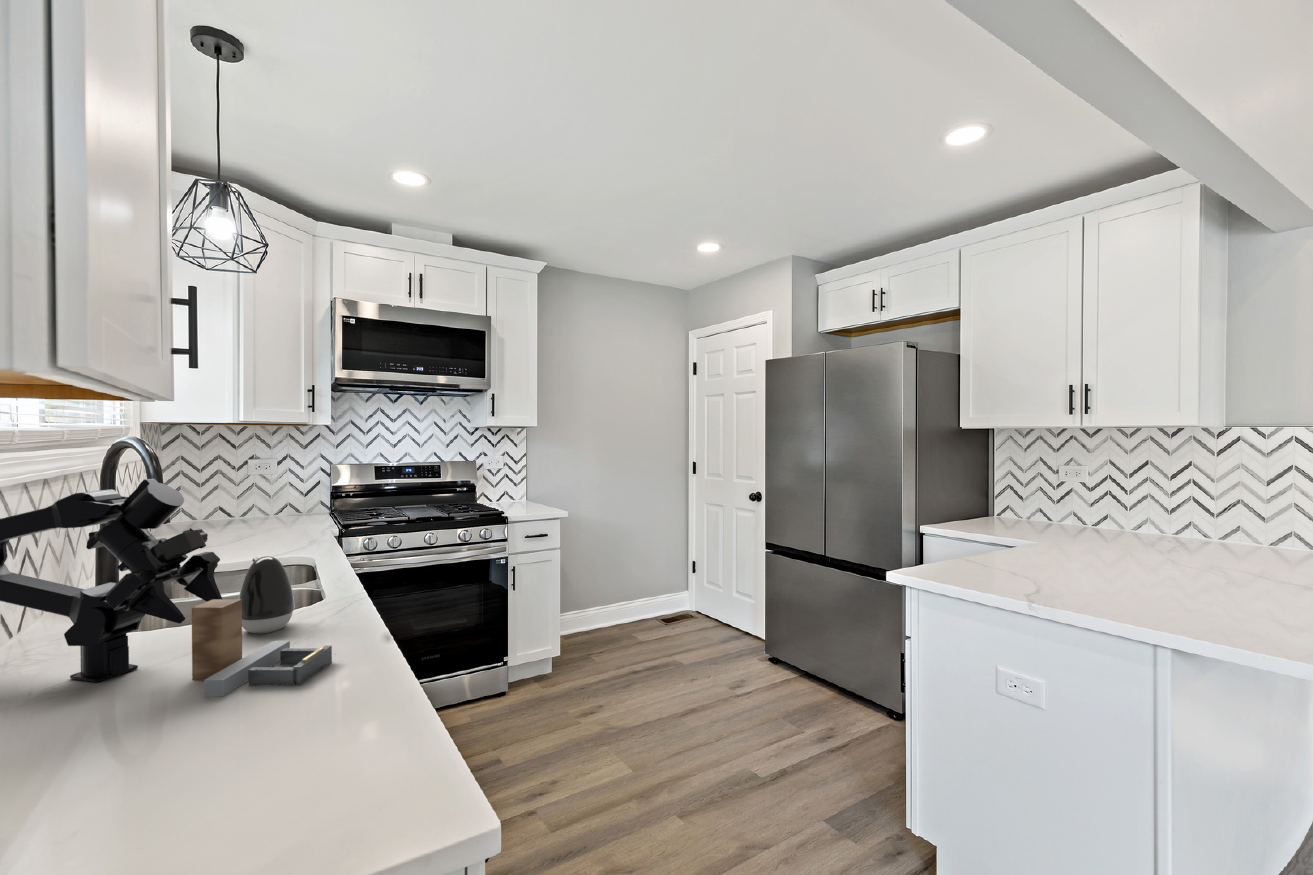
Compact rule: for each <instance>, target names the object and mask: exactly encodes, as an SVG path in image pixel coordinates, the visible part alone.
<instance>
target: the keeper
mask: <svg viewBox="0 0 1313 875" xmlns="http://www.w3.org/2000/svg"><path fill="white" fill-rule="evenodd" d="M332 648H333V646H332V645H324V646H321V647H318V648H317V647H316V648H307V647H306V648H302V647H301V648H296V647H295V648H291V647H290V648H284V649H282V650H281V651H280V661H279V663H280V664H279V665H280V666H281V667H279V666H274V667H273V666H270V667H253V668H251V669H249V670H248V681H247V682H248V685H247V686H302V685H304V683H306V682H307V681H309V680H310V679H311V678H312V677H314V676H315V675H317V674H318V673H319V672H321V671H322V670H324V669H325V668H326V667H327V666H329V665H330V664H332V662H333V649H332ZM287 666H288V667H287ZM289 666H293V667H289Z"/></svg>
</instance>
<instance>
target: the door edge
mask: <svg viewBox="0 0 1313 875" xmlns="http://www.w3.org/2000/svg"><path fill="white" fill-rule="evenodd" d="M284 648H291V641H290V640H272V641H271V642H269V643H267V644H266V645H264V646H262V647H260V648H258V649H256V650H255V651H252V652H251V653H250V654H248V655H245V656H243V657H242V659H240V660H239V661H237V662H235V663H233V664H232V665H230V666H228V667H226V668H225V669H223V670H221V671H219V672H217V673H216V674H214V675H212V676H210V677H209V678H207V679H205V680H203V696H204V697H224V696H226V695H228V694H229V693H231V692H232V691H233V690H235V689H237V688H239V687H240V686H242V685H243V684H245V683H247V682H248V670H249V669H251V668H253V667H273V666H274V665H275V664H277V663H278V662H280V651H281V650H282V649H284Z"/></svg>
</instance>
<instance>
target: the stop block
mask: <svg viewBox="0 0 1313 875" xmlns="http://www.w3.org/2000/svg"><path fill="white" fill-rule="evenodd" d="M242 658H243V627H242V599H238V598H235V599H233V598H232V599H231V598H230V599H229V598H228V599H225V598H224V599H223V598H222V599H213V600H210V601H207V602H206V601H205V602H202V603H200V604H198V605H197V604H196V605H195V606H192V607H191V671H192V672H191V676H192V681H200V680H201V681H202V680H203V681H204V680H205V679H207V678H209V677H210V676H212V675H214V674H216V673H217V672H219V671H221V670H223V669H225V668H226V667H228V666H230V665H232V664H233V663H235V662H237V661H239V660H240V659H242Z"/></svg>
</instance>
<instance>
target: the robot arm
mask: <svg viewBox="0 0 1313 875" xmlns="http://www.w3.org/2000/svg"><path fill="white" fill-rule="evenodd" d="M184 498H185V497H183V494H182V493H181V492H180V491H179V490H178V489H175V488H173V487H171V486H169V485H167V484H165V483H162V482H158V481H157V480H156V478H148V479H143V480H142V481H141V482H140V483H139V484H138V486H137V488H136V489H135V490H134V491H133V492H132V493H131V494H130V495H128V496H125V495H121V494H120V493H119V492H118V491H116V490H115V489H112V488H111V489H102V490H101V489H100V490H93V491H83V492H75V493H71V494H70V495H67V496H65V497H63V498H62V497H61V498H60V499H58V500H56V501H54V502H53V503H52V504H51V505H49V506H47V507H44V508H40V509H36V510H31V511H26V512H24V513H19V514H14V515H10V516H6V517H2V518H0V602H3V603H6V604H11V605H15V606H19V607H24V608H29V609H32V610H33V609H34V610H37V611H41V612H46V613H51V614H55V615H58V616H64V617H67V618H69V620H71V622H72V624H73V625H71V626H70V627H69V628H68V629H67V630H66V631H65V632H64V634H63V635H64V636H63V637H64V639H65V641H66V645H67V646H68V647H80V671H78V672H75V673H73V674H70V675H69V678H70V679H71V680H79V681H83V682H84V681H86V682H91V683H93V682H94V683H100V682H103V681H106V680H108V679H110V678H113V677H117V676H119V675H123V674H125V673H129V672H131V671H135V670H136V669H139V666H138V664H133V663H131V664H130V646H129V636H128V635H127V633H130V632H133V631H137V630H138V629H139V627H140V625H141V622H142V619H143V618H144V617H145V615H148V616H152V617H155V618H159V619H162V620H165V621H169V622H173V623H174V624H175V623H176V624H183V622H185V620H186V617H185V616H184V614H183V612H182V611H181V610H180V609H179V608H178V607H177V605H176V604H174V602H173V601H172V600H171V598H170V597H169V596H168V595H167V594H166V593H165V590H164V589H165V588H164V584H168V583H171V582H175V581H176V582H177V583H178V584H179V585H182V586H184V588H183V590H185V591H186V592H188V593H190V594H191V595H194V596H196V597H198V598H199V599H201V600H203V601H205V602H207V601H210V600H213V599H223V596H222V594H221V592H220V590H219V587H218V585H217V583H216V580H215V570H216V568H217V567H218V566H219V565H218V563H219V562H220V561H221V558H220V557H219V556H218V555H217V554H216V553H215V552H214V551H205V552H204V551H203V552H201V553H197V554H193V555H192V556H191V557H189V556H188V555H187V554H189V553H192V552H194V551H196V550H198V549H204V548H205V547H207V545H206V543H207V541H208V537H209V536H208V532H205V531H204V530H203V529H202V528H200V527H199V526H193V527H189V529H186V530H183V531H182V532H181V533H179V534H176V535H175V536H172V537H170V538H166V537H161V538H158V539H157V538H156V537H155V536H154V535H153V534H152V533H151V532H150V531H149V530H150V529H152V530H155V529H158V528H160V527H162V525H163V524H164V523H166V522H167V520H168V519H169V518H170V517H171V516H173V514H174V513H176V511H177V510H178V509H179V508H180V507H182V505H183V504H184V503H185V499H184ZM96 525H103V526H102V527H101V528H99V530H97V531H91V532H89V533H88V540H87V542H86V545H85V546H86V549H87V550H93V549H97V548H102V547H104V548H106V549H107V551H109V552H110V553H111V554H112V555H113V556H114V557H115V558H116V559H117V560H118V561H119V562H120V563H119V565H118V566H117V567H116V568H117V569H118V570H119V571H120V572H121V573H122V572H125V571H130V572H129V573H125V574H124V575H123V577H122V578H121V579H120V580H118V581H117V582H112V581H110V582H107V583H104V584H100V585H99V584H98V585H96V586H92V587H89V588H85V589H84V588H80V587H77V586H72V585H67V584H63V583H59V582H54V581H50V580H45V579H41V578H37V577H32V576H29V575H24V574H19V573H16V572H12V571H10V570H9V568H8V567H7V565H6V564H5V563H6V561H7V559H8V550H7V544H8V543H9V541H10V540H13V539H14V540H15V539H18V538H22V537H26V536H30V535H34V534H39V533H43V532H47V531H52V530H56V529H75V528H85V527H91V526H96ZM148 529H149V530H148ZM188 558H189V559H188ZM187 559H188V560H187ZM186 560H187V561H186ZM185 561H186V562H185ZM181 563H183V564H182V565H181Z"/></svg>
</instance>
